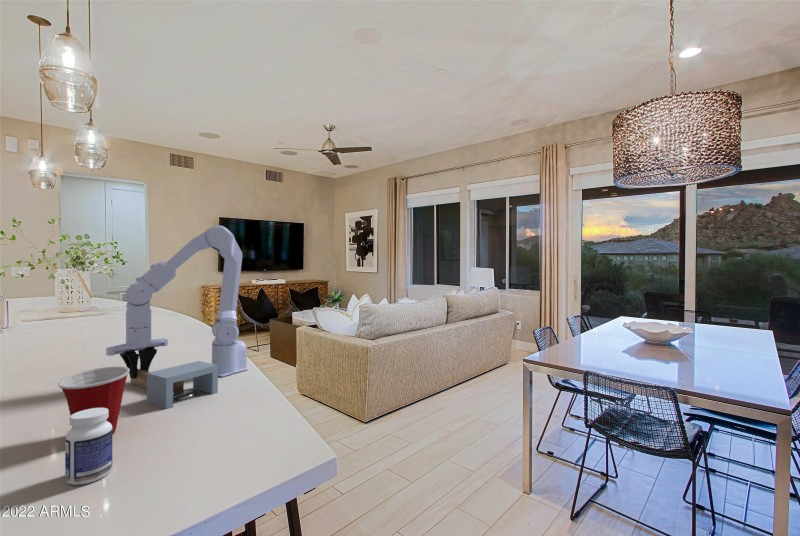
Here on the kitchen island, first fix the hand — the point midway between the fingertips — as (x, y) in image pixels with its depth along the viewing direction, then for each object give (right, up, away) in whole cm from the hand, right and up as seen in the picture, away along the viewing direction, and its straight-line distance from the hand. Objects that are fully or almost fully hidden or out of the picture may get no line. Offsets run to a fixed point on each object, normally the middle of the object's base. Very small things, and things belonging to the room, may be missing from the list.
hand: (138, 376), depth 104 cm
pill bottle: (+23, -3, -44) cm, 50 cm away
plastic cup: (+13, -3, -31) cm, 34 cm away
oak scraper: (+6, -2, -3) cm, 7 cm away
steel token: (+18, -3, -10) cm, 21 cm away
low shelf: (+18, -2, -10) cm, 20 cm away
